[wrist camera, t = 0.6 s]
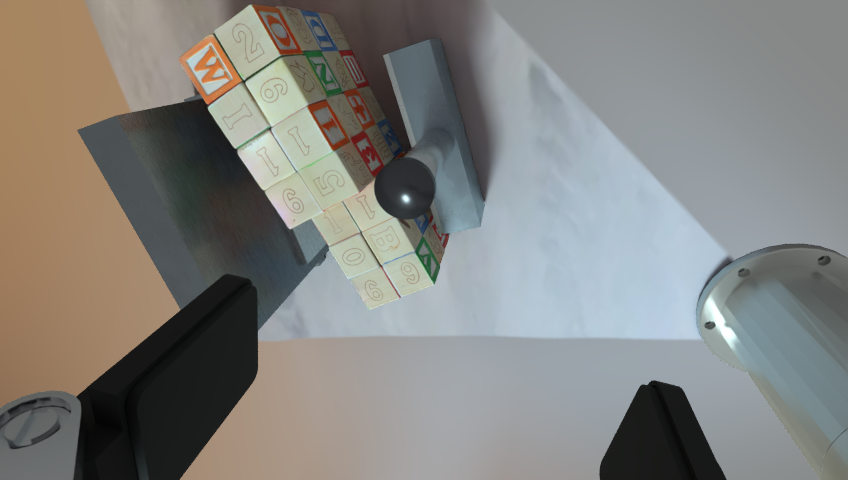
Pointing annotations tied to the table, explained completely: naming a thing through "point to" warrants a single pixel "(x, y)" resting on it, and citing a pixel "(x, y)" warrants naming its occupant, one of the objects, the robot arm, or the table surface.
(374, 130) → the stack of blocks
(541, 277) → the table surface
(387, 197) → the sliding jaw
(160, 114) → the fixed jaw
